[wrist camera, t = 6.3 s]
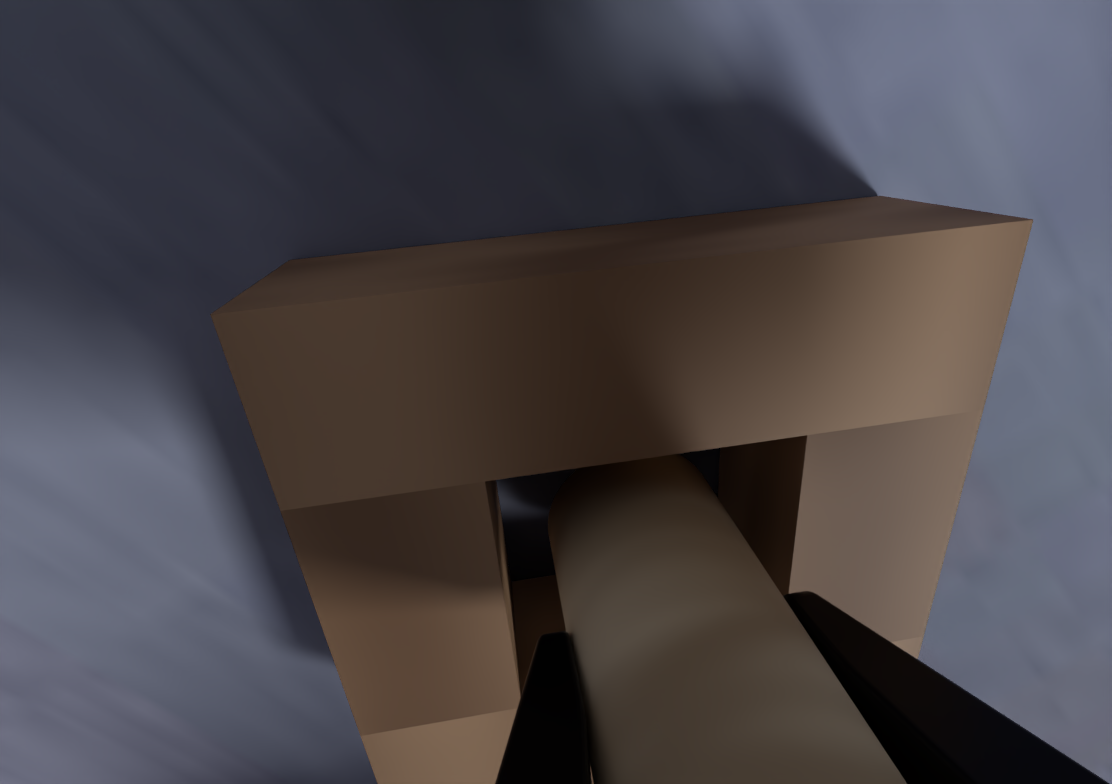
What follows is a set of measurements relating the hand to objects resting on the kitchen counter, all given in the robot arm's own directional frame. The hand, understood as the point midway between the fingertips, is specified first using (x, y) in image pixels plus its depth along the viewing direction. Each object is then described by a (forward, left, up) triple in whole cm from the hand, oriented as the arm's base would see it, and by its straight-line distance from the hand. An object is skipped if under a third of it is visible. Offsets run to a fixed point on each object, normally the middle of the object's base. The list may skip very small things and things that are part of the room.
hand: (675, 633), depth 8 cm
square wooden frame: (0, 0, -4) cm, 4 cm away
